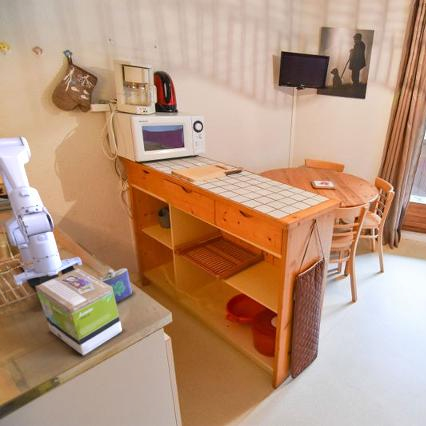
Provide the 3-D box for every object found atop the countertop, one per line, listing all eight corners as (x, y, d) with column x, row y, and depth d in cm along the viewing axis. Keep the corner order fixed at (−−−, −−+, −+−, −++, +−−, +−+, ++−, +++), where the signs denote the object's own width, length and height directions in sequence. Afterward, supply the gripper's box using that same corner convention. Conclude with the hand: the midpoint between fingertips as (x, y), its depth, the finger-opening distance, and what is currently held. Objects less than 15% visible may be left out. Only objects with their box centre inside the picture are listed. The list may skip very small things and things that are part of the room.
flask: (129, 291, 98) (123, 261, 94) (134, 294, 97) (129, 265, 93) (97, 306, 91) (89, 275, 87) (102, 311, 90) (94, 279, 86)
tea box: (48, 332, 81) (33, 285, 75) (90, 310, 90) (79, 266, 84) (82, 357, 75) (68, 307, 69) (124, 331, 83) (114, 285, 78)
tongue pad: (33, 281, 99) (30, 272, 98) (53, 275, 103) (50, 265, 102) (44, 299, 92) (41, 289, 91) (65, 291, 96) (63, 282, 95)
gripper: (12, 269, 79) (27, 312, 84) (81, 249, 90) (90, 289, 95) (6, 259, 83) (21, 300, 88) (72, 241, 94) (82, 279, 99)
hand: (56, 294), depth 92 cm, fingers closed on slot pad, 5 cm apart
